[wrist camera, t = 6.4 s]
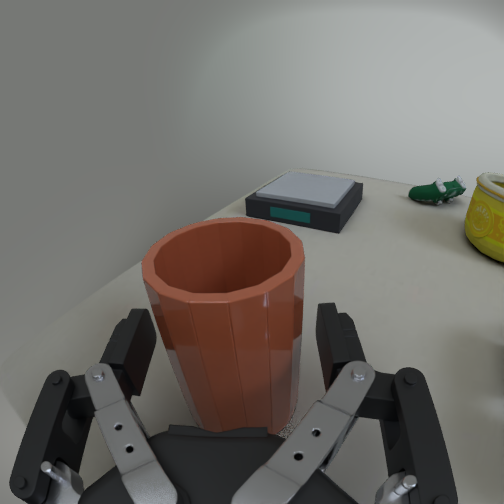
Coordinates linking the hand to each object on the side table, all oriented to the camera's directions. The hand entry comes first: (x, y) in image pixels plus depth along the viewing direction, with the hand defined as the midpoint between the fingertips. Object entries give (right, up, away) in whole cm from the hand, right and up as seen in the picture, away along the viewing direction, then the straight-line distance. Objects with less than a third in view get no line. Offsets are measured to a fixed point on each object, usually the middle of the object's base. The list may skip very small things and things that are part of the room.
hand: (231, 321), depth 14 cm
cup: (0, -5, +3) cm, 6 cm away
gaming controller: (+29, +11, +27) cm, 41 cm away
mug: (+30, +3, +14) cm, 34 cm away
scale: (+8, +9, +27) cm, 30 cm away
